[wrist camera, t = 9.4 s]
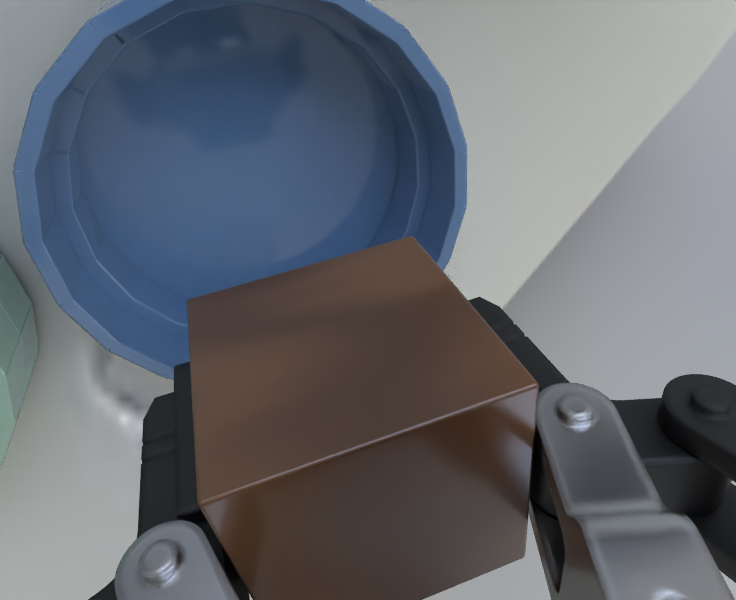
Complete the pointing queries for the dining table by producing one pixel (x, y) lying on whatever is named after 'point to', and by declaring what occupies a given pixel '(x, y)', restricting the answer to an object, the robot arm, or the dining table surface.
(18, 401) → the celadon bowl
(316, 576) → the walnut block
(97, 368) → the dining table surface
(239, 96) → the blue bowl
